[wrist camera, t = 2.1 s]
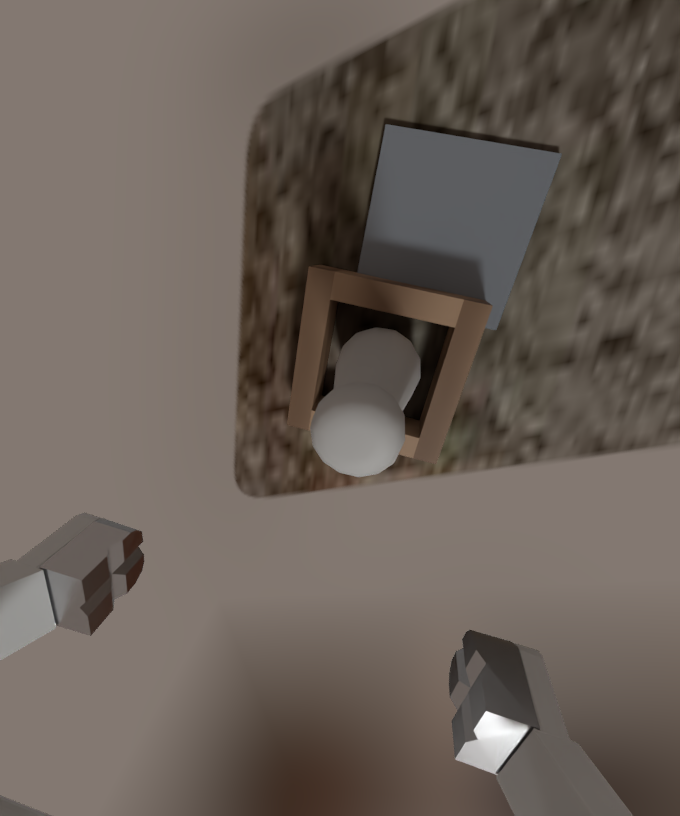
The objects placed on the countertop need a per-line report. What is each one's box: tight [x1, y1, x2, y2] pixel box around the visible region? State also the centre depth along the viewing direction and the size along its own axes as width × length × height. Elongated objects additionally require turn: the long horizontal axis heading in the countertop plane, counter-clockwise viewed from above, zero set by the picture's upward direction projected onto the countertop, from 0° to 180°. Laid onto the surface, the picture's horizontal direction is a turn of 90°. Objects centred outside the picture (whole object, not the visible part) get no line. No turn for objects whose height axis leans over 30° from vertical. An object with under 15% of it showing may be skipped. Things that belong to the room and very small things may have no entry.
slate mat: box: [357, 124, 562, 330], centre depth 23 cm, size 10×10×1 cm
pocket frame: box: [287, 265, 493, 464], centre depth 26 cm, size 11×11×3 cm
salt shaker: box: [310, 327, 421, 477], centre depth 21 cm, size 6×6×13 cm
